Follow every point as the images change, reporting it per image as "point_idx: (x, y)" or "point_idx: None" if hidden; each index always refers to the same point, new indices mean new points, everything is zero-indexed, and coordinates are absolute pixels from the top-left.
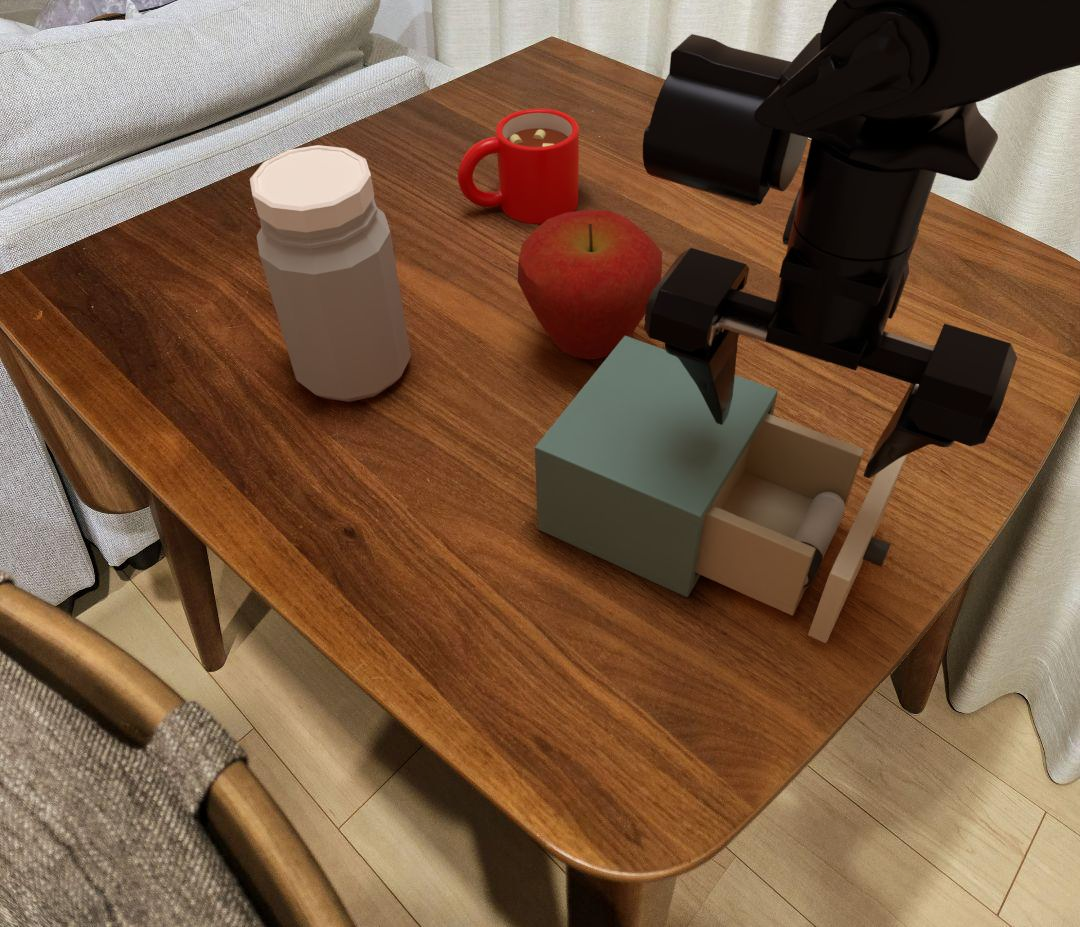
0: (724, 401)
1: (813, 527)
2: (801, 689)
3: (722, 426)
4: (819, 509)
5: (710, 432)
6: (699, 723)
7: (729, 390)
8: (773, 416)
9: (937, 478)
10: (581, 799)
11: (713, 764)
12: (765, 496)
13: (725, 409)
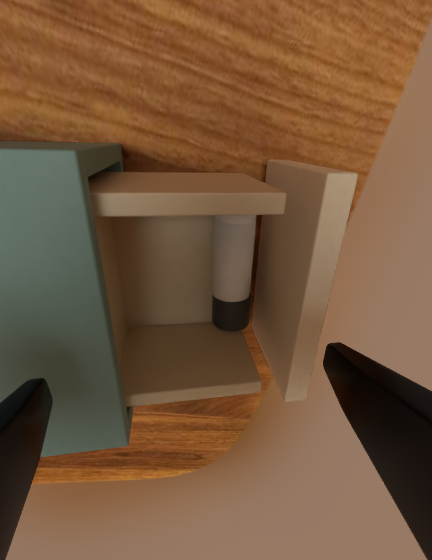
0: (20, 478)
1: (233, 279)
2: (255, 350)
3: (45, 311)
4: (231, 248)
5: (37, 335)
6: (201, 401)
7: (3, 468)
8: (106, 196)
9: (342, 15)
10: (162, 460)
11: (220, 414)
12: (153, 217)
13: (35, 440)
